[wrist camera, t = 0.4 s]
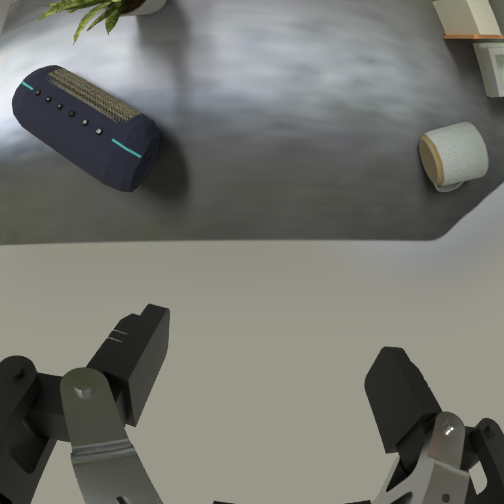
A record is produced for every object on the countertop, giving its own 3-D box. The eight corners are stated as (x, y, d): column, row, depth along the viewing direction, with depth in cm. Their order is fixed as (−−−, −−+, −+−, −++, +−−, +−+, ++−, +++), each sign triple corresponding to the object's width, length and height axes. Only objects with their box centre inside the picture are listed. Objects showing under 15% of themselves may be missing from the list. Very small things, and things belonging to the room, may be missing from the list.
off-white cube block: (427, 2, 17) (458, -6, 11) (457, 1, 15) (490, -4, 9) (443, 38, 20) (477, 38, 14) (471, 36, 18) (506, 38, 12)
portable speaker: (184, 126, 33) (152, 148, 25) (151, 180, 39) (119, 215, 31) (60, 54, 25) (13, 64, 18) (41, 108, 31) (-1, 127, 23)
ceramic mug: (409, 128, 29) (436, 146, 23) (456, 114, 26) (487, 131, 20) (424, 194, 35) (446, 222, 29) (465, 179, 32) (491, 204, 26)
